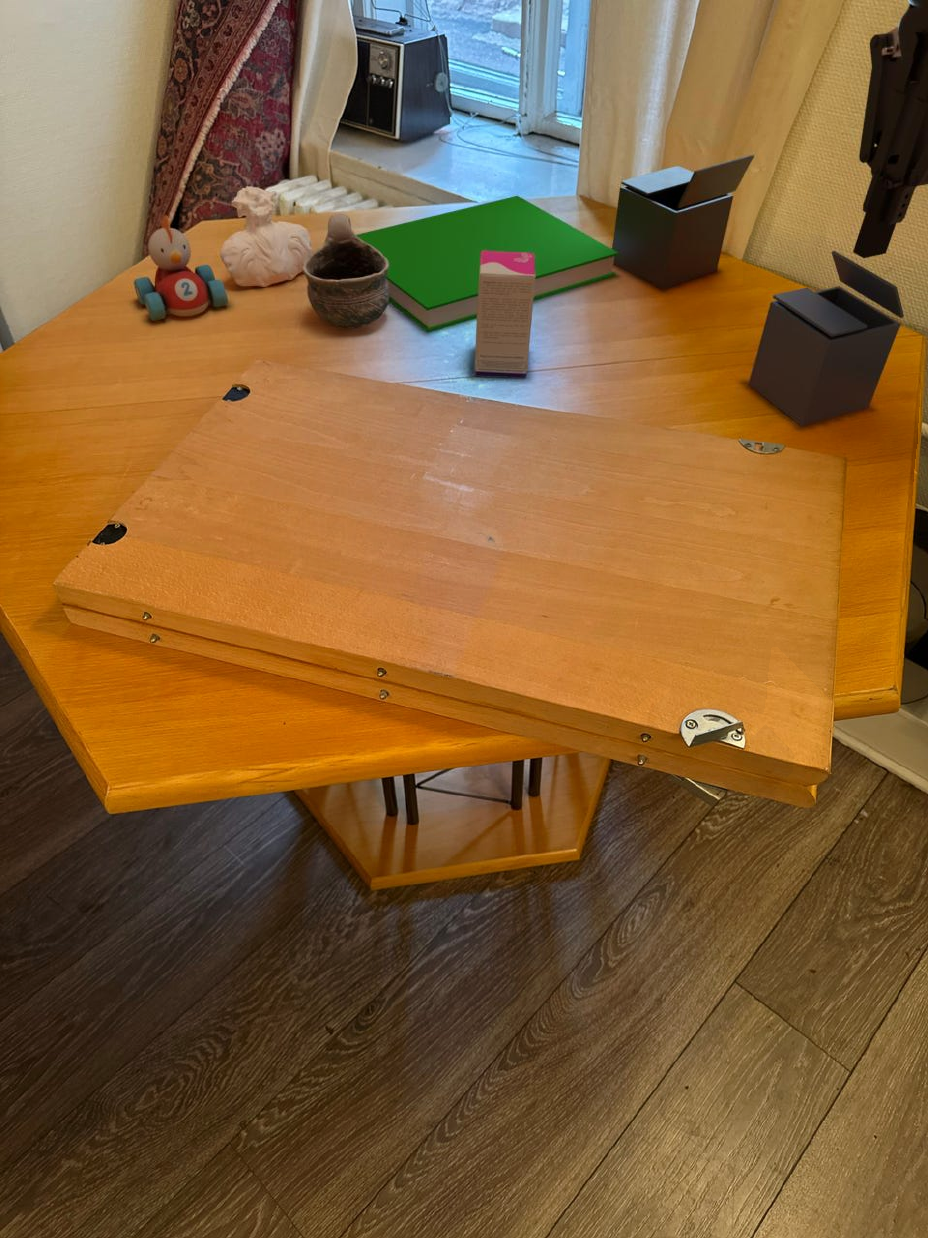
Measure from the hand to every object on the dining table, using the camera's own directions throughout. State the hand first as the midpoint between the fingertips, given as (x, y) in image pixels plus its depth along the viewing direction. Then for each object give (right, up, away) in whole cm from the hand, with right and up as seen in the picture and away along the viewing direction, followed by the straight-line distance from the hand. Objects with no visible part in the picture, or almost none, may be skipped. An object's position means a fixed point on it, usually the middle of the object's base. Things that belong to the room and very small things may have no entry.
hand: (869, 252), depth 85 cm
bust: (-63, +9, +29) cm, 70 cm away
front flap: (+1, -2, +3) cm, 3 cm away
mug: (-52, +1, +22) cm, 57 cm away
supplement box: (-34, -7, +14) cm, 38 cm away
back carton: (-12, +11, +32) cm, 36 cm away
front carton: (-2, -11, +10) cm, 15 cm away
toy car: (-72, +3, +23) cm, 76 cm away
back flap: (-9, +17, +20) cm, 27 cm away
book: (-37, +10, +31) cm, 49 cm away
